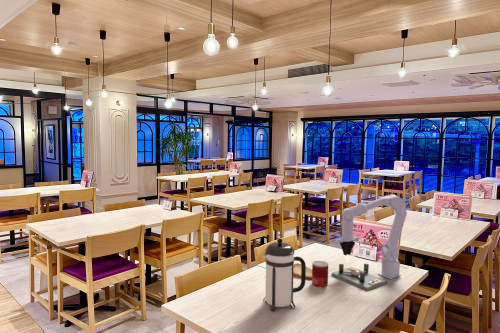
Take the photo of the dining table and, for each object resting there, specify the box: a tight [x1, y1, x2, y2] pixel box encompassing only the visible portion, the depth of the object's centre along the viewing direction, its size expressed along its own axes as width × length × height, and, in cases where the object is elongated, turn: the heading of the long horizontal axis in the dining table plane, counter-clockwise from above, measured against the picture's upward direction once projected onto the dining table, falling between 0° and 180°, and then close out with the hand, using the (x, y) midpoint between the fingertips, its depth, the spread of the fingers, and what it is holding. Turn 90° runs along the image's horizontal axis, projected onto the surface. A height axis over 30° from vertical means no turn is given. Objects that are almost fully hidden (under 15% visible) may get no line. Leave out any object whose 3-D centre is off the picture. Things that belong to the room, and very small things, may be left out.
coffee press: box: [262, 237, 307, 313], centre depth 153 cm, size 17×16×30 cm
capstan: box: [338, 263, 370, 282], centre depth 184 cm, size 14×16×4 cm
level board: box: [331, 266, 388, 292], centre depth 182 cm, size 16×23×4 cm
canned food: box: [311, 260, 329, 288], centre depth 175 cm, size 8×8×11 cm
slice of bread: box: [293, 262, 312, 281], centre depth 190 cm, size 18×18×4 cm
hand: (346, 254), depth 190 cm, fingers closed
